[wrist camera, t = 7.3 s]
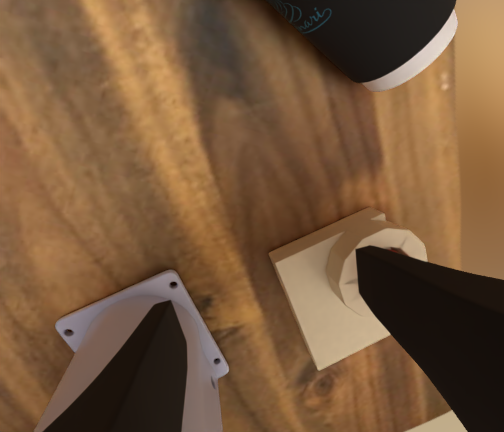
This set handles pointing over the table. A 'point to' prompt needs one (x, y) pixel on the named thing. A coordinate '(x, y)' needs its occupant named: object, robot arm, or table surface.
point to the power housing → (337, 282)
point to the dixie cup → (374, 35)
